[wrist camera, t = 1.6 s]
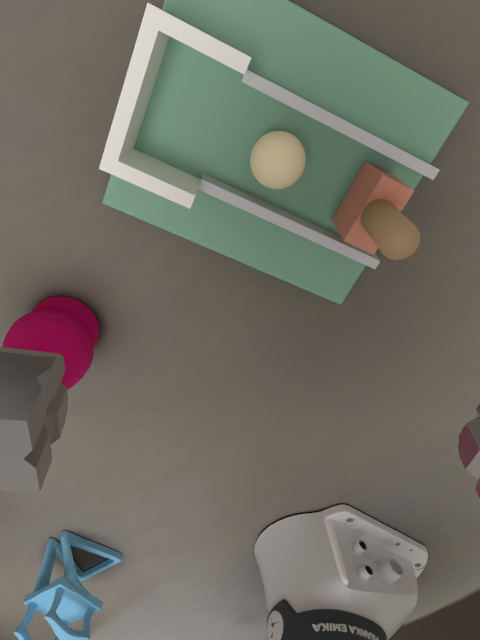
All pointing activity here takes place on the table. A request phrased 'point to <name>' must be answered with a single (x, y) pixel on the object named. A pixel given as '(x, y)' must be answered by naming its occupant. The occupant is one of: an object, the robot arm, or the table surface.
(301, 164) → the ball
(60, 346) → the pepper mill
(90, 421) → the table surface
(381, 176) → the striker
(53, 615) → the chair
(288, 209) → the pitch
